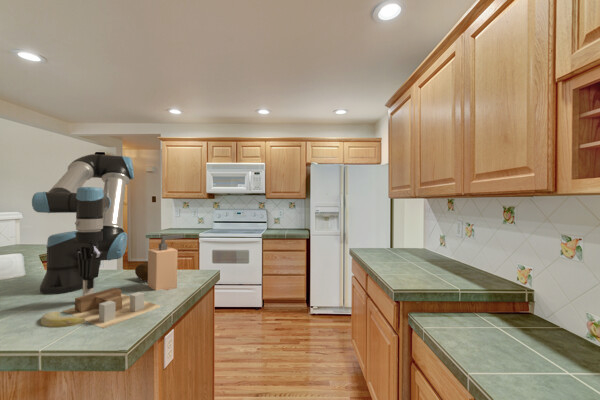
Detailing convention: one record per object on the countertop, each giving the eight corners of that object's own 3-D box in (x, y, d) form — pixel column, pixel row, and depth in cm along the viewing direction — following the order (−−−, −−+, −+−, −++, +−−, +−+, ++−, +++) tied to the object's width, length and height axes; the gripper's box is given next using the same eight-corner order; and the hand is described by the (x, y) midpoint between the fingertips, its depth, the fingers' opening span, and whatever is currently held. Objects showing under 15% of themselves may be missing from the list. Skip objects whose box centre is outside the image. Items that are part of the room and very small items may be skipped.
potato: (153, 275, 130) (153, 257, 130) (163, 280, 122) (163, 261, 122) (133, 279, 124) (134, 260, 124) (143, 284, 116) (143, 264, 116)
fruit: (55, 337, 73) (55, 325, 73) (32, 323, 80) (33, 312, 80) (86, 326, 79) (86, 315, 79) (62, 314, 86) (63, 304, 86)
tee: (74, 310, 86) (75, 298, 86) (114, 298, 97) (114, 287, 97) (94, 318, 81) (94, 305, 81) (134, 305, 92) (134, 293, 92)
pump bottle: (155, 293, 106) (156, 238, 106) (147, 288, 112) (148, 236, 112) (186, 285, 116) (187, 235, 116) (177, 281, 122) (178, 233, 122)
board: (62, 313, 86) (62, 310, 86) (121, 296, 102) (121, 293, 102) (103, 331, 75) (103, 328, 75) (161, 309, 91) (161, 306, 91)
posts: (98, 320, 80) (99, 303, 80) (138, 306, 90) (138, 291, 90) (104, 322, 78) (104, 305, 78) (144, 308, 89) (144, 293, 89)
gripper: (67, 230, 94) (66, 297, 93) (86, 232, 88) (85, 304, 87) (92, 228, 100) (90, 291, 100) (111, 230, 94) (110, 297, 94)
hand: (88, 297), depth 94 cm, fingers closed
